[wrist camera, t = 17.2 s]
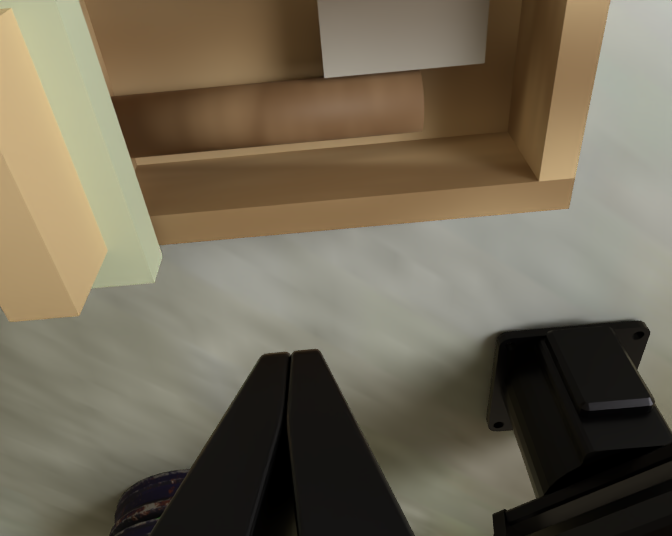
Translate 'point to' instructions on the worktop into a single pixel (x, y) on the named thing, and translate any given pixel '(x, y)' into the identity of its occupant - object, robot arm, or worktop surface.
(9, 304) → the lid
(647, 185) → the worktop surface
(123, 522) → the storage jar
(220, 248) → the worktop surface
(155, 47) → the wooden box tray
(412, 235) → the worktop surface
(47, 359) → the worktop surface
